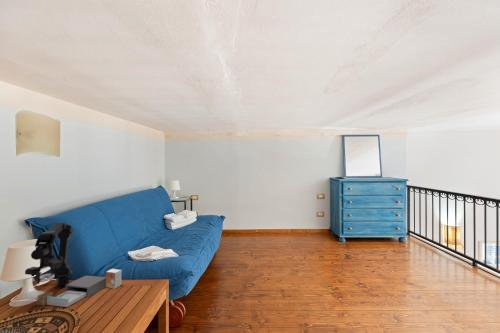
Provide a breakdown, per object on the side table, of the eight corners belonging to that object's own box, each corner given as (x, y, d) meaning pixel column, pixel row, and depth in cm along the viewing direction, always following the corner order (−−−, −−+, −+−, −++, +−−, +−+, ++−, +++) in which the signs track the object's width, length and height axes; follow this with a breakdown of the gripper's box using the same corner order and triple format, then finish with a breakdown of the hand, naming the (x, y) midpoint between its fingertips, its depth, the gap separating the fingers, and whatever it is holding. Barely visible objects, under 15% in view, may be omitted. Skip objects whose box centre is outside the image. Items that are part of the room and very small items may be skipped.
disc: (33, 281, 138) (33, 278, 138) (47, 275, 145) (47, 272, 145) (44, 282, 136) (44, 279, 136) (57, 276, 144) (58, 273, 144)
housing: (65, 294, 150) (65, 284, 150) (85, 284, 164) (85, 275, 164) (88, 297, 147) (88, 287, 147) (106, 286, 161) (106, 277, 161)
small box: (105, 287, 160) (105, 271, 160) (112, 283, 165) (112, 268, 165) (114, 288, 157) (115, 272, 158) (121, 285, 163) (121, 269, 163)
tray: (47, 304, 138) (47, 297, 138) (69, 293, 151) (69, 286, 151) (67, 307, 135) (67, 299, 135) (87, 295, 148) (88, 288, 148)
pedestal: (37, 304, 138) (37, 295, 138) (45, 300, 143) (46, 291, 143) (44, 305, 137) (44, 296, 137) (52, 301, 142) (52, 292, 142)
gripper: (40, 260, 131) (39, 289, 130) (72, 250, 149) (71, 275, 148) (24, 259, 133) (23, 287, 132) (57, 249, 151) (57, 273, 150)
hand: (45, 280), depth 141 cm, fingers closed on disc, 8 cm apart
